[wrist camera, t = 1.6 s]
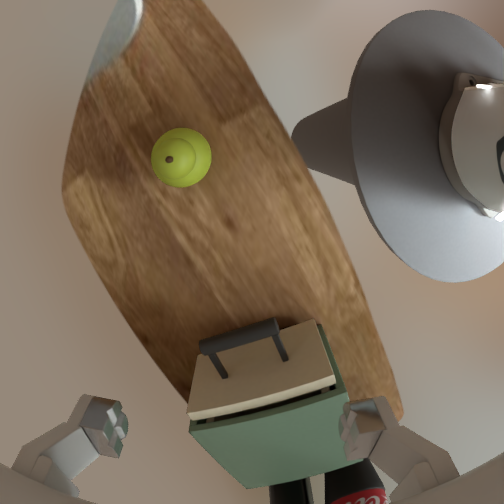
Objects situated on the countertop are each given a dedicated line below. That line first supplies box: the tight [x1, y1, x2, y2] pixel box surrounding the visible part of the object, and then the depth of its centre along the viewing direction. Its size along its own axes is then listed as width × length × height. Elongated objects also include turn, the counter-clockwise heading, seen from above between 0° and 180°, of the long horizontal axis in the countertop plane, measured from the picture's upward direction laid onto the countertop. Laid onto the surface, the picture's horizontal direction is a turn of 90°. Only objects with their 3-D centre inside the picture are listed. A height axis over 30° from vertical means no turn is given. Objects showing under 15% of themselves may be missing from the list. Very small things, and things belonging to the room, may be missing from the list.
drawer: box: [187, 317, 336, 423], centre depth 28 cm, size 18×13×9 cm
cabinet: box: [189, 324, 363, 489], centre depth 30 cm, size 15×15×11 cm
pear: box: [151, 128, 211, 188], centre depth 22 cm, size 5×5×7 cm
